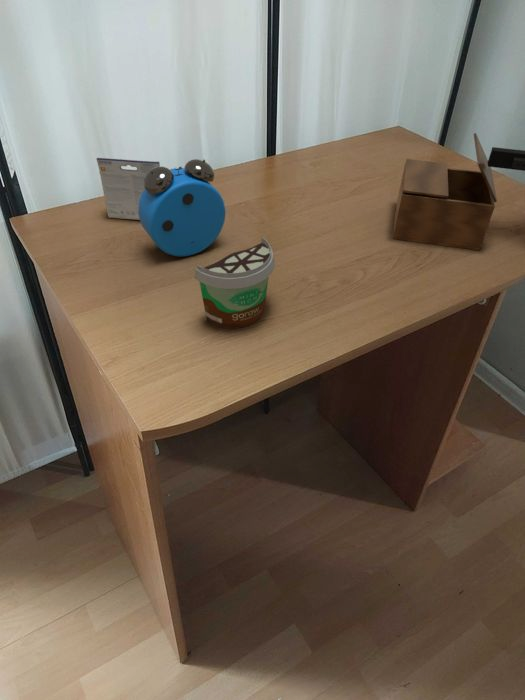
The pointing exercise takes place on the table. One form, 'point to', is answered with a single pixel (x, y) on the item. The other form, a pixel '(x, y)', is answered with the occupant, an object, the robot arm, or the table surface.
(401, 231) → the wooden box
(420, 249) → the table surface
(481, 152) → the flap
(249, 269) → the food container
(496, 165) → the robot arm
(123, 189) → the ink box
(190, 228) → the alarm clock
